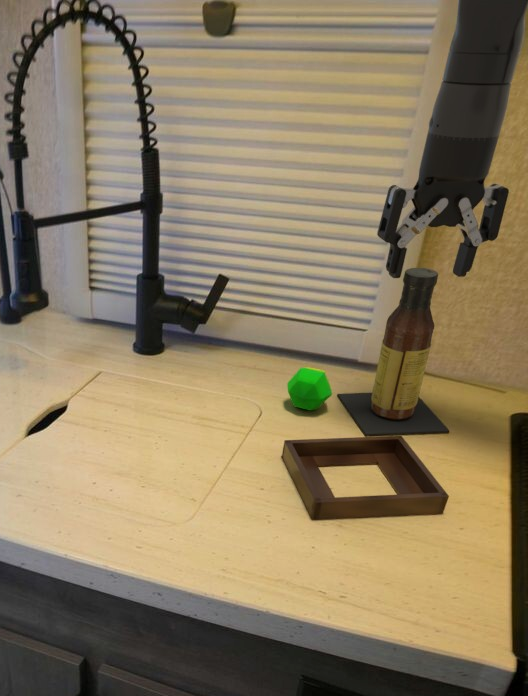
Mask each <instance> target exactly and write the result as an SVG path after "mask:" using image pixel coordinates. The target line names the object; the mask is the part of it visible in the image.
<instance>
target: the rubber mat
mask: <svg viewBox="0 0 528 696" xmlns="http://www.w3.org/2000/svg"><path fill="white" fill-rule="evenodd" d="M336 396H337V398H338V400H339V401H340V402H341V404H342V405H343V407H344V408H345V410H346V411H347V413H348V414H349V415H350V416H351V419H352V420H353V421H354V422H355V424H356V426H358V428H359V429H360V431H361V432H362V434H363V435H364V437H380V436H408V435H409V436H410V435H432V434H450V431H451V430H450V429H449V428H448V427H447V426H446V425H445V424H444V423H443V421H442V420H441V419H440V418H439V417H438V415H436V414H435V413H434V411H433V410H432V409H431V408H430V407H429V406H428V405H427V404H426V403H425V402H424V400H422V398H421V397H420V396H419V397H418V402H417V404H416V406H415V411H414V413H413V415H412V416H411V417H409V418H407V419H403V420H392V419H387V418H385V417H382V416H379V415H376V414H375V413H374V412H373V410H372V407H371V401H372V400H371V397H372V392H351V393H350V392H348V393H337V395H336Z"/></svg>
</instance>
